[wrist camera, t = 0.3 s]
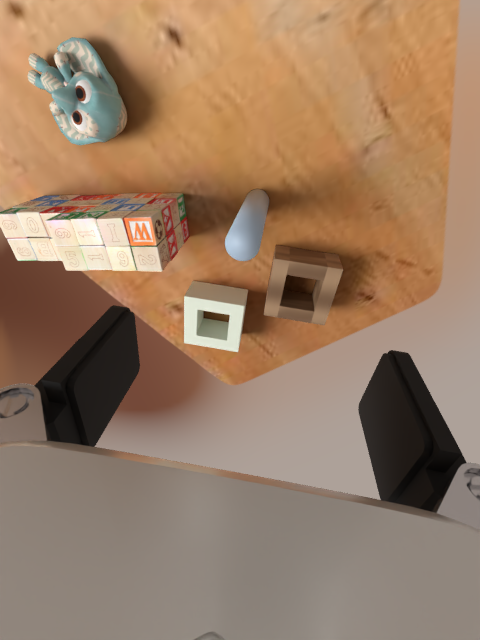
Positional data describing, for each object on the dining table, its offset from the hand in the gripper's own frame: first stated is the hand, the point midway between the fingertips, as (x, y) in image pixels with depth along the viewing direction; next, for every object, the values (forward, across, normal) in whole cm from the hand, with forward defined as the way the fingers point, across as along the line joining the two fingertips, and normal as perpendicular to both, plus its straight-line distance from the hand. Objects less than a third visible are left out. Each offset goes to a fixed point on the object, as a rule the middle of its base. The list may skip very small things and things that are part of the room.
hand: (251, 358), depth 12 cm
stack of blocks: (+34, +22, +6) cm, 42 cm away
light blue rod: (+34, +2, +2) cm, 34 cm away
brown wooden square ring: (+34, -6, +12) cm, 36 cm away
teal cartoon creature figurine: (+34, +24, -8) cm, 42 cm away
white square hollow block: (+34, +6, +20) cm, 40 cm away
